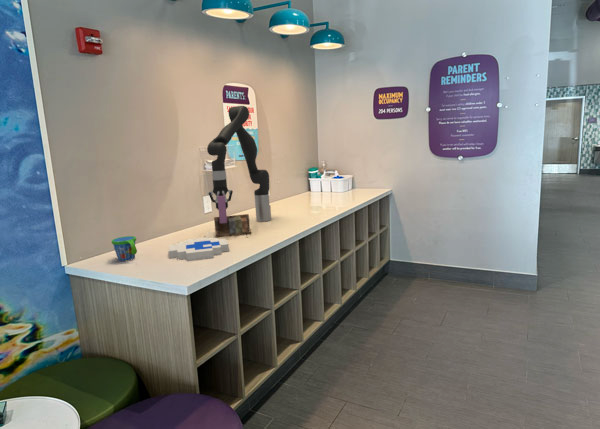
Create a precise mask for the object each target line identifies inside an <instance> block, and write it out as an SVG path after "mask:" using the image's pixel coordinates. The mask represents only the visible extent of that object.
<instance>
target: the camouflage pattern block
mask: <svg viewBox="0 0 600 429" xmlns="http://www.w3.org/2000/svg"><path fill="white" fill-rule="evenodd" d="M213 219H214V230H215V231H214V233H215V238H218V239H219V238H227V237H228V238H229V237H235V236H247V235H252V229H251V227H250V216H249V213H246V214H234V215H233V214H232V215H227V223H220V220H219V216H214V217H213Z"/></svg>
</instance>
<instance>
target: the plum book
mask: <svg viewBox="0 0 600 429" xmlns="http://www.w3.org/2000/svg"><path fill="white" fill-rule="evenodd" d="M217 197H218V208H219V210H218V217H219V220H220V223H227V216H228V215H227V209H226V204H225V196H217Z"/></svg>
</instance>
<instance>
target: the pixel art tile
mask: <svg viewBox="0 0 600 429" xmlns="http://www.w3.org/2000/svg"><path fill="white" fill-rule="evenodd" d="M228 242H229V241H228V240H227V238H219V237H218V238H216V237H213V238H212V237H209V236H208V237H207V236H204V237H195V238H189V239H188V238H187V239H185V241H178V242H177V244H176V243H175V244H169V245H168V258H170V259H177V260H178V259H180V260H186V262H189V261H190V262H191V261H199V260H206V258H207V259H214V258H215V257H214V256H220V255H222V253H226V252H230V246H229V243H228ZM176 257H178V258H176Z"/></svg>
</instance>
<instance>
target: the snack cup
mask: <svg viewBox="0 0 600 429" xmlns="http://www.w3.org/2000/svg"><path fill="white" fill-rule="evenodd" d="M136 241H137V238H136V236H132V235H128V236H120V237H116V238H114V239H111V244H112V245H113V250H114V251H115V254H116V255H115V256H116V257H117V260H118V261H119V260H120V261H121V262H126V261H125V260H128V261H131V259H132V260H134V259H135V258H136V254H137V253H138V250H137V247H136Z"/></svg>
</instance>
